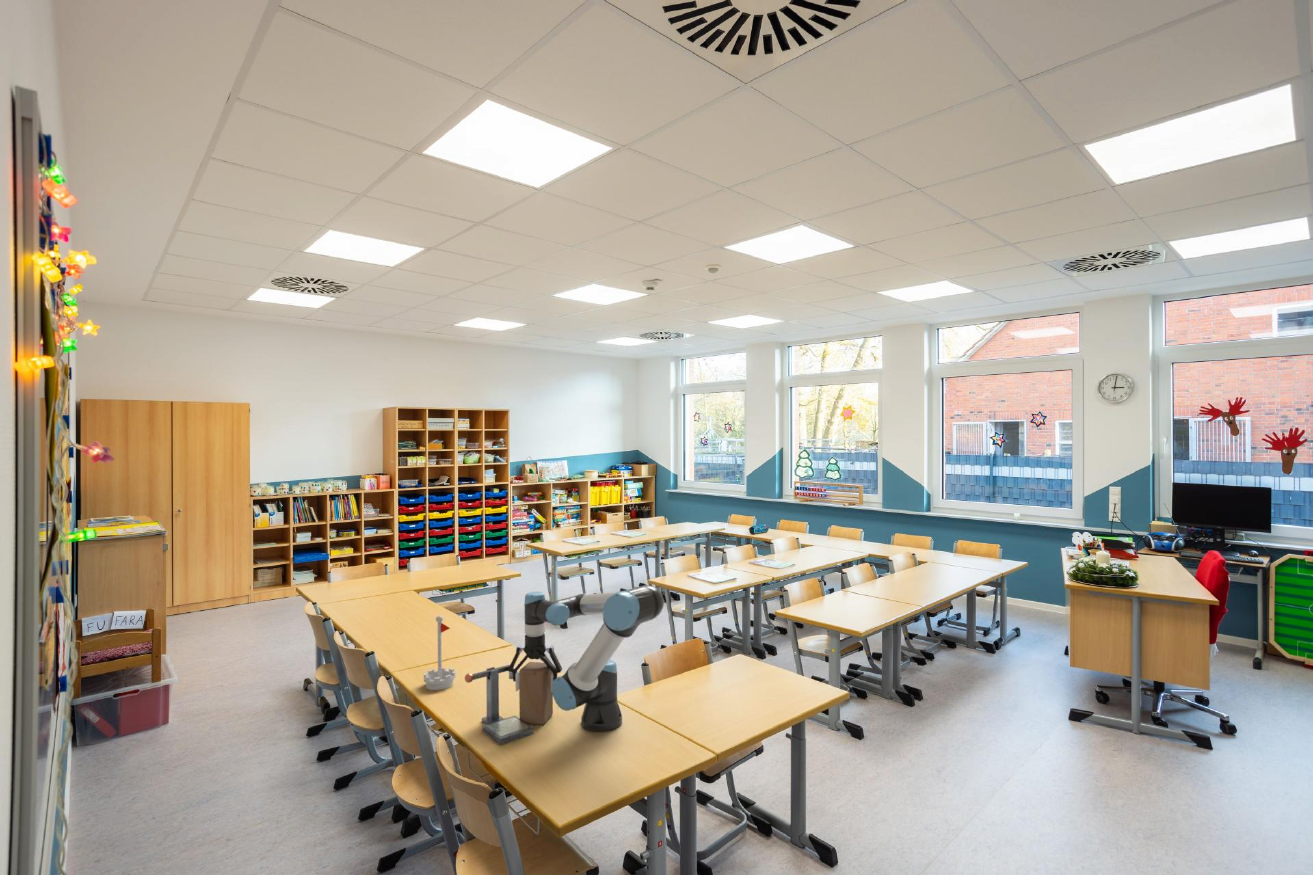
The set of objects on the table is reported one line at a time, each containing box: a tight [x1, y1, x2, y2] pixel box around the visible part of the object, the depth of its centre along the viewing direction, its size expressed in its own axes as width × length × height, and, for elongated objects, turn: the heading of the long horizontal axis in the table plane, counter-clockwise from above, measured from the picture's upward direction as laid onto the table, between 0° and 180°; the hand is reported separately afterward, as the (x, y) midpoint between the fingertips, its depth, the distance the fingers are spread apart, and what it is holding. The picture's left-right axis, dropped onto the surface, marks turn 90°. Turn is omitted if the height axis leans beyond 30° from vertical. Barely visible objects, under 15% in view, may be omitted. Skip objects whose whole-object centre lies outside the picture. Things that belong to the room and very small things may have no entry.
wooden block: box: [518, 661, 554, 726], centre depth 239 cm, size 10×10×20 cm
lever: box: [464, 664, 516, 684], centre depth 237 cm, size 3×20×6 cm, turn 130°
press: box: [481, 666, 534, 746], centre depth 232 cm, size 22×13×20 cm, turn 40°
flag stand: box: [423, 615, 457, 691], centre depth 274 cm, size 13×13×30 cm
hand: (535, 690), depth 239 cm, fingers open, 13 cm apart
